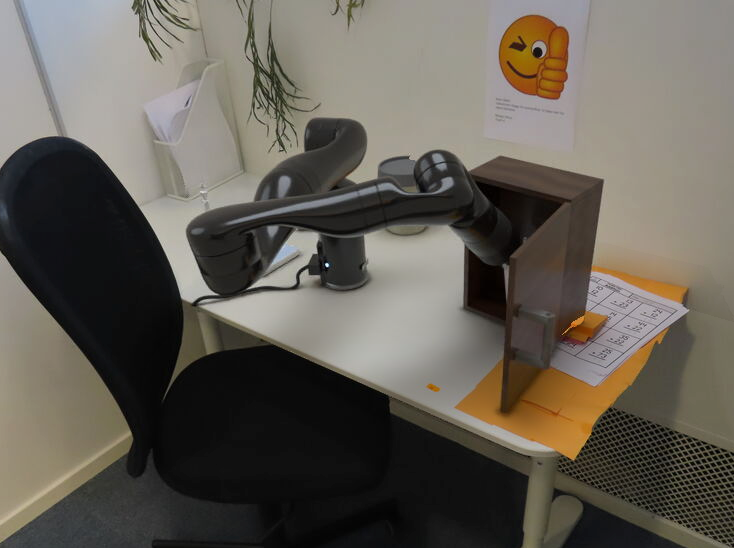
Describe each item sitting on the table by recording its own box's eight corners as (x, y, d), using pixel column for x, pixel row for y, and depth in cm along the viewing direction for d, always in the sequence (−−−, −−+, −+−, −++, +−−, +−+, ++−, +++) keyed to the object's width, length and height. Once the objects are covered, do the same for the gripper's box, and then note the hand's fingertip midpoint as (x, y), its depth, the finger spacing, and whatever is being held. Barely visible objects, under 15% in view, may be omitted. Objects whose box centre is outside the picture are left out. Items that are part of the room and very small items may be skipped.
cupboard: (554, 345, 120) (571, 199, 104) (463, 308, 132) (465, 172, 116) (584, 321, 125) (604, 179, 110) (493, 288, 137) (500, 155, 121)
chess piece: (203, 217, 175) (195, 179, 169) (222, 217, 174) (214, 179, 169) (197, 225, 171) (188, 187, 165) (216, 225, 170) (208, 187, 165)
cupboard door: (584, 356, 117) (606, 209, 101) (537, 424, 104) (554, 267, 88) (549, 346, 120) (565, 201, 104) (500, 411, 107) (509, 256, 91)
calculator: (240, 235, 165) (238, 227, 164) (302, 254, 155) (301, 246, 154) (198, 257, 157) (196, 249, 156) (260, 279, 146) (259, 271, 145)
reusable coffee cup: (424, 240, 156) (423, 177, 148) (372, 235, 160) (368, 173, 151) (439, 217, 166) (439, 156, 157) (390, 213, 170) (387, 153, 161)
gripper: (442, 242, 114) (482, 278, 127) (516, 268, 105) (550, 302, 119) (463, 202, 114) (501, 241, 127) (538, 224, 105) (570, 264, 119)
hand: (524, 271), depth 123 cm, fingers closed on smoothie, 6 cm apart
